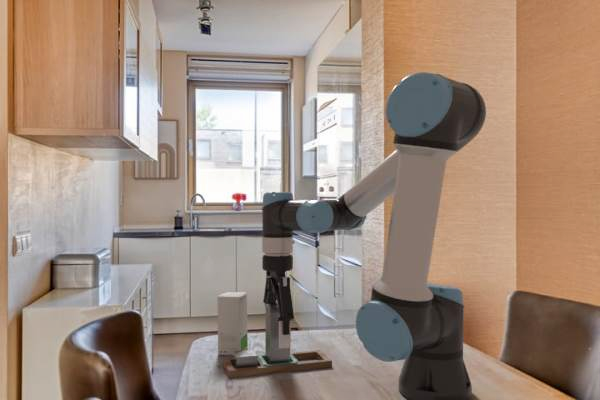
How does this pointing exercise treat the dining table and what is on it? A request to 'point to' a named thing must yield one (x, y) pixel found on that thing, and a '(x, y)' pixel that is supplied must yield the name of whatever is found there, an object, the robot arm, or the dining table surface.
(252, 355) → the grey concrete cube
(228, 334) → the skincare box
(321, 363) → the wooden holder tray
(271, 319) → the brushed grey block
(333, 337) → the dining table surface
